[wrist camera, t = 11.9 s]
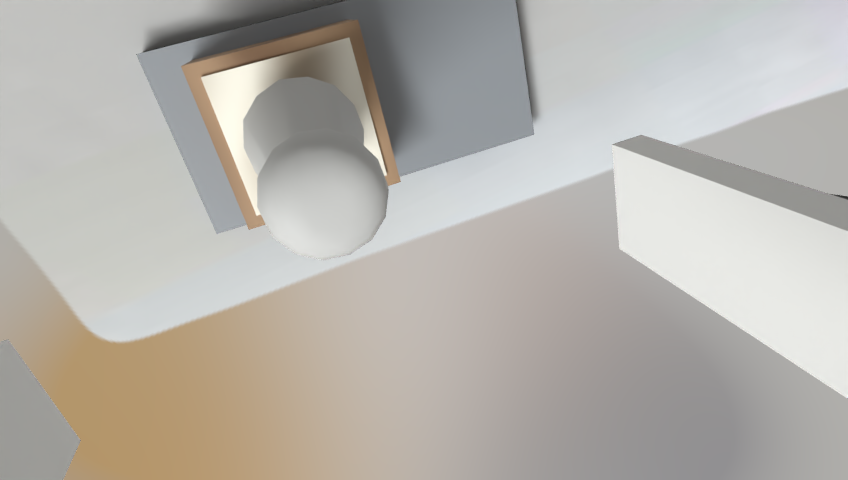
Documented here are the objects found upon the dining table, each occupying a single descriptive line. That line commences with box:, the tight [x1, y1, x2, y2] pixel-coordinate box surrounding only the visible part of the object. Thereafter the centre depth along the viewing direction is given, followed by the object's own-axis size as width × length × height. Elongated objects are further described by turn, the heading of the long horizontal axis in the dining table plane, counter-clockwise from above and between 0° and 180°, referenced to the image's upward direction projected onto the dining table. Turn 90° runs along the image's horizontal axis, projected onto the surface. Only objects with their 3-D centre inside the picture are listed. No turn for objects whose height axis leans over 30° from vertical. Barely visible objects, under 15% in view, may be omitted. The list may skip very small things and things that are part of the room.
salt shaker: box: [243, 77, 388, 260], centre depth 22 cm, size 6×6×13 cm
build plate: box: [136, 0, 534, 234], centre depth 33 cm, size 22×11×2 cm, turn 104°
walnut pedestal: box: [181, 20, 401, 229], centre depth 30 cm, size 9×9×4 cm
